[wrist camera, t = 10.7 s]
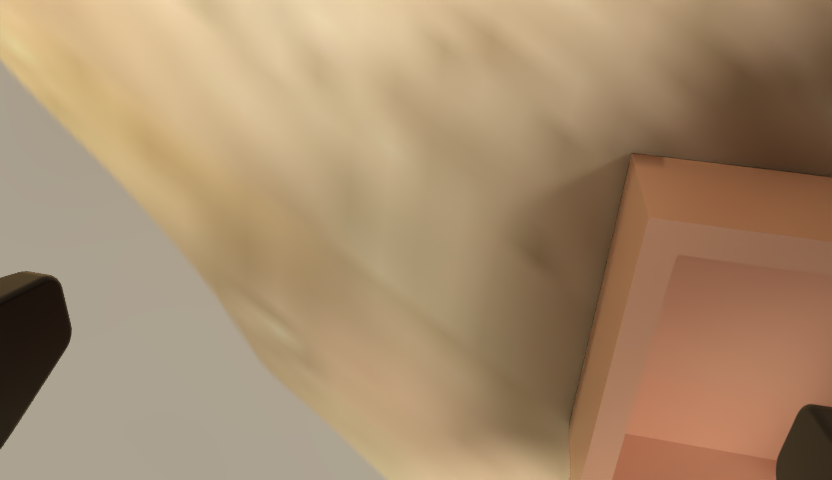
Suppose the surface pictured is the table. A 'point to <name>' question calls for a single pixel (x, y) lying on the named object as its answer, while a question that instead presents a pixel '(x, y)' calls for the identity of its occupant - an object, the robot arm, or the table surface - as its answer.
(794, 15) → the table surface
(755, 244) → the bin
